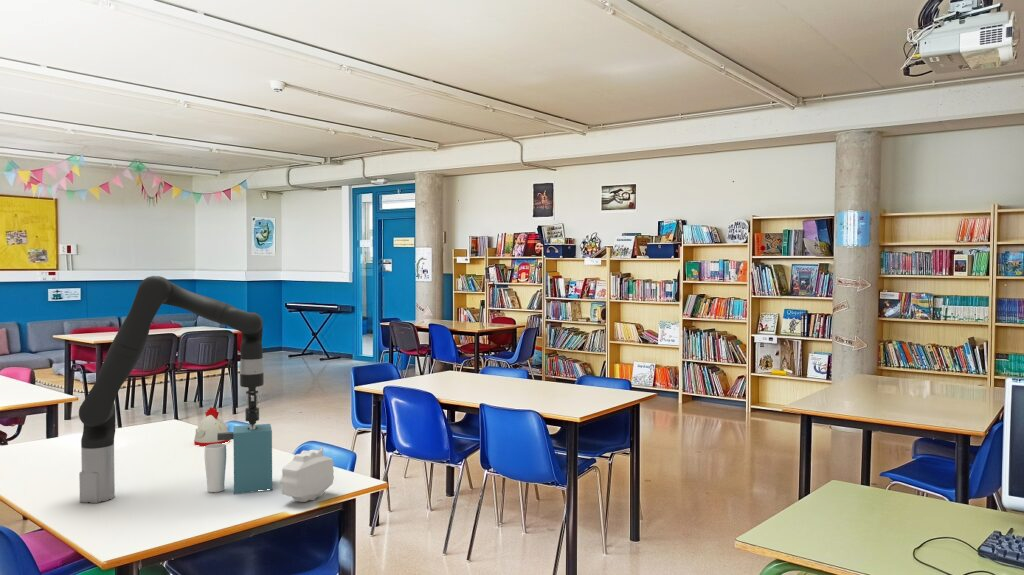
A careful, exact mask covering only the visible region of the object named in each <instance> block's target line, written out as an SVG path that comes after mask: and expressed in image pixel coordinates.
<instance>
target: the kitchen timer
mask: <svg viewBox="0 0 1024 575" xmlns="http://www.w3.org/2000/svg"><path fill="white" fill-rule="evenodd" d="M206 410H207V411H205V412H204V413H205V417H204V418H203V419H202V420H201V422H200V423H199V425H198V426H197V428H196V429H195V435H194V440H193V441H194V444H193V445H194V446H196V445H200V446H199V447H204V446H207V445H211V444H222V443H225V442H228V441H229V440H218V441H217V434H218V433H225V432H229V425H228V424H226V423H225V422H224V420H223V419H222V418H221V417H219V411H218V408H215V407H212V406H211V407H209V409H206ZM229 442H230V441H229Z"/></svg>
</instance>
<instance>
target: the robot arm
mask: <svg viewBox="0 0 1024 575" xmlns="http://www.w3.org/2000/svg"><path fill="white" fill-rule="evenodd" d="M136 290H137V291H136V293H135V297H134V299H133V302H132V304H131V308H130V310H129V312H128V314H127V315H126V317H125V319H124V321H122V322H123V323H122V324H121V326H120V328H118V329H119V330H118V332H117V333H116V334H115V336H114V339H113V341H112V342H111V344H110V347H109V349H108V350H107V353H106V355H105V357H104V360H103V361H102V362H103V363H102V365H101V368H100V369H99V373H98V376H97V378H96V380H95V382H94V384H93V386H92V388H91V389H90V391H89V392H88V394H87V395H86V396H85V398H84V400H83V401H82V403H81V404H80V406H79V408H78V409H79V410H78V416H79V420H80V421H81V422H82V424H83V431H82V437H81V440H80V444H81V446H80V447H81V449H80V450H81V457H80V458H81V471H80V472H79V503H88V502H90V504H91V503H92V504H98V503H101V501H102V502H105V501H109V499H110V500H112V499H114V498H116V497H115V496H116V492H115V491H116V489H115V486H116V485H115V481H116V480H115V434H116V405H115V401H116V399H117V396H118V394H119V391H120V389H121V387H123V385H124V383H125V382H126V380H127V379H128V377H129V376H130V375H131V373H132V371H133V370H134V369H135V367H136V365H137V364H138V362H139V360H140V357H141V355H142V353H143V351H144V349H145V347H146V344H147V341H148V338H149V333H150V329H151V325H152V323H153V320H154V318H155V317H156V315H157V312H158V311H159V310H160V308H161V306H162V305H166V306H170V307H171V306H172V307H175V308H176V307H177V308H179V309H183V310H186V311H188V312H189V313H193V314H194V315H197V316H199V317H202V318H203V319H206V320H209V321H211V322H214V323H217V324H219V325H223V326H226V327H229V328H231V329H233V330H236V331H237V332H240V333H241V344H240V364H239V385H240V387H242V388H248V389H247V390H246V391H245V397H246V406H247V408H249V410H248V412H249V421H248V425H250V424H255V425H257V421H256V412H257V409H256V407H257V406H258V404H259V401H258V400H259V390H257V388H259V387H263V386H264V384H265V379H264V376H265V374H264V359H263V358H264V357H263V354H264V353H263V330H264V328H263V326H264V325H263V324H264V323H263V317H261V315H260V314H258V313H257V312H254V311H253V312H249V311H246V310H243V309H241V308H236V307H235V306H234V305H231V304H229V303H226V302H223V301H222V300H221V301H220V300H217V299H214V298H212V297H210V296H209V297H208V296H205V295H203V294H198V293H196V292H192V291H190V290H187V289H185V288H183V287H181V286H179V285H177V284H175V283H173V282H172V281H170V280H168V279H167V278H166V277H163V276H161V275H151V276H147V277H145V278H144V279H143V280H142V281H141V282H140V283H139V285H138V288H137V289H136ZM250 407H255V408H250Z"/></svg>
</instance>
